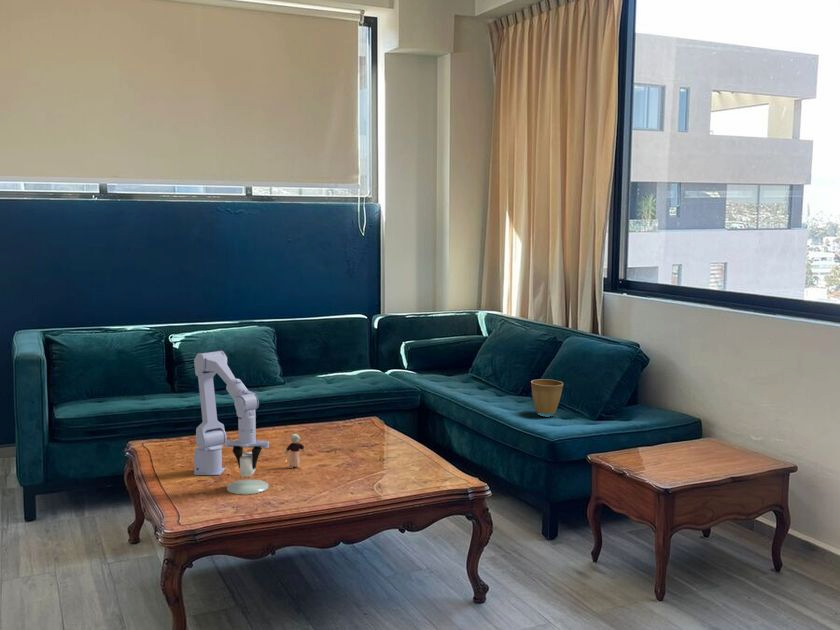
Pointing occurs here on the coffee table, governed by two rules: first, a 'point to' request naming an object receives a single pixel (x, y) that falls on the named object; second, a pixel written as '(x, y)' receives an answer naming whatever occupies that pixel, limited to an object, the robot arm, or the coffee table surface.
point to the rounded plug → (246, 465)
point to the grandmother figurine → (294, 451)
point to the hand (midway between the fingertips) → (247, 467)
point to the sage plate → (247, 487)
